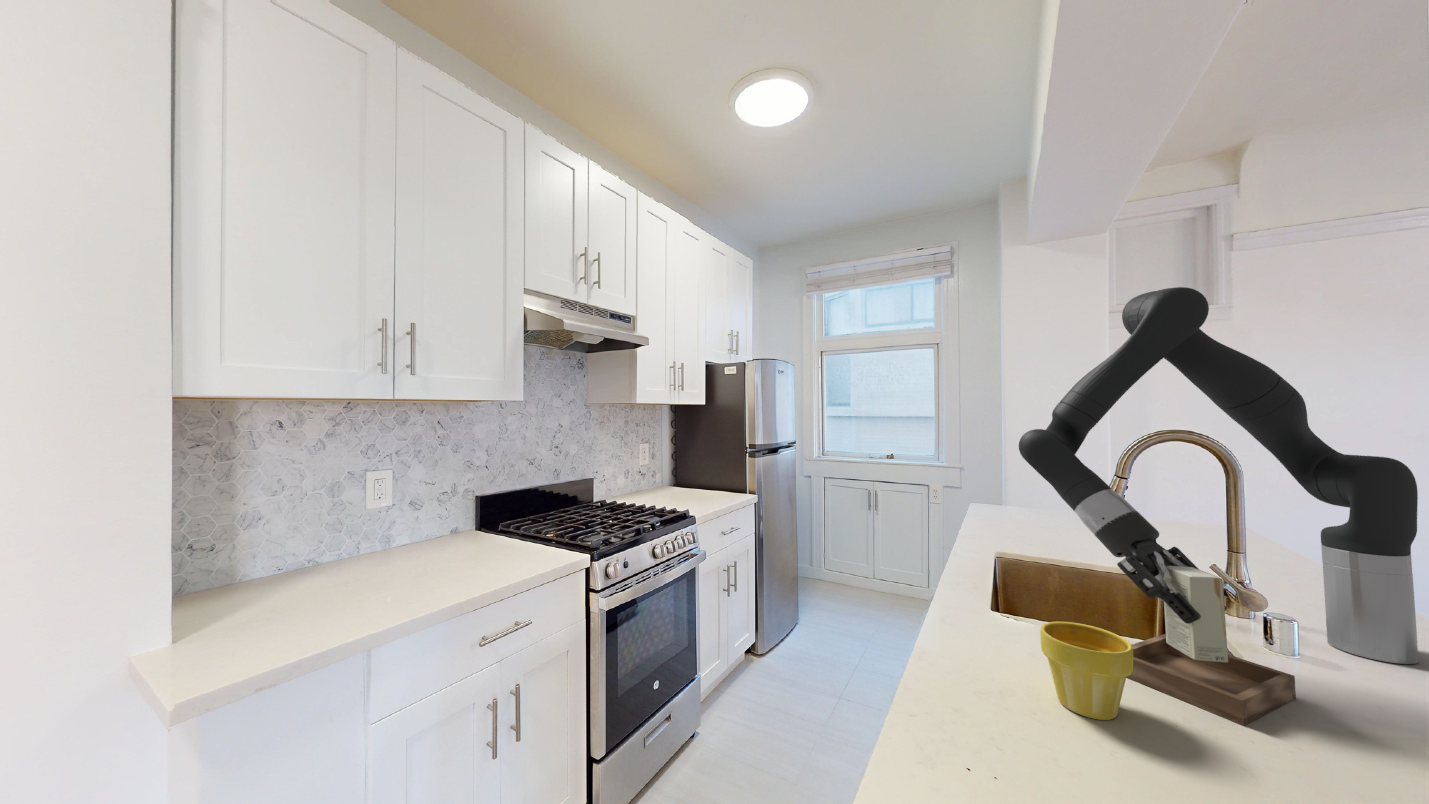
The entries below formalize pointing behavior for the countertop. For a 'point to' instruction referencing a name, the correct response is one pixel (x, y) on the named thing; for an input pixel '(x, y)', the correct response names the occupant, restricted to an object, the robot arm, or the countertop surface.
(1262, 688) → the walnut tray
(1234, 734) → the countertop surface
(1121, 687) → the plant pot
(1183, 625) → the skincare box
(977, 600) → the countertop surface
